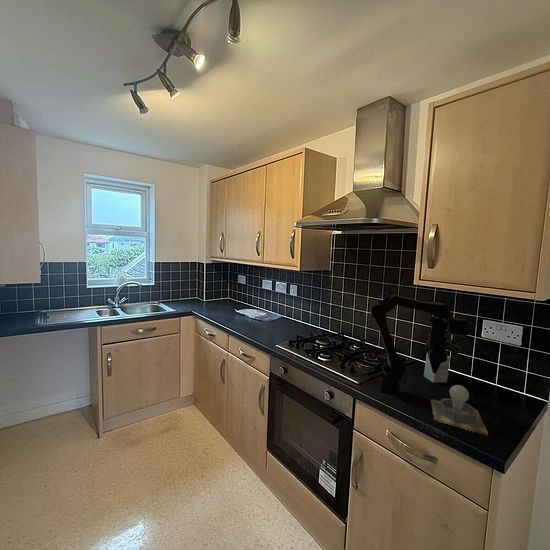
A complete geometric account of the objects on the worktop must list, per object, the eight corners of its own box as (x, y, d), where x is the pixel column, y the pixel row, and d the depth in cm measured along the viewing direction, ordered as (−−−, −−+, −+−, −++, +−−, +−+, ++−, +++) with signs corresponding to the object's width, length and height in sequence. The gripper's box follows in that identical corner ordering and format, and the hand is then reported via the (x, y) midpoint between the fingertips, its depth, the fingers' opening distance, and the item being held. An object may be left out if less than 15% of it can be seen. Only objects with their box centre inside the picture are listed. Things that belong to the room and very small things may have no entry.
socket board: (434, 422, 107) (436, 411, 107) (430, 401, 122) (431, 392, 121) (487, 436, 101) (489, 424, 101) (476, 412, 116) (478, 402, 115)
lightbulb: (467, 420, 107) (471, 391, 106) (448, 415, 110) (451, 386, 109) (464, 412, 113) (468, 384, 112) (446, 408, 115) (449, 380, 115)
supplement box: (433, 383, 140) (436, 357, 139) (423, 376, 147) (426, 351, 146) (447, 383, 141) (450, 357, 140) (436, 376, 148) (439, 351, 147)
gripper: (465, 343, 112) (459, 382, 114) (456, 331, 129) (451, 365, 131) (431, 337, 116) (426, 376, 118) (427, 326, 133) (423, 360, 135)
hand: (433, 369), depth 125 cm, fingers open, 9 cm apart
